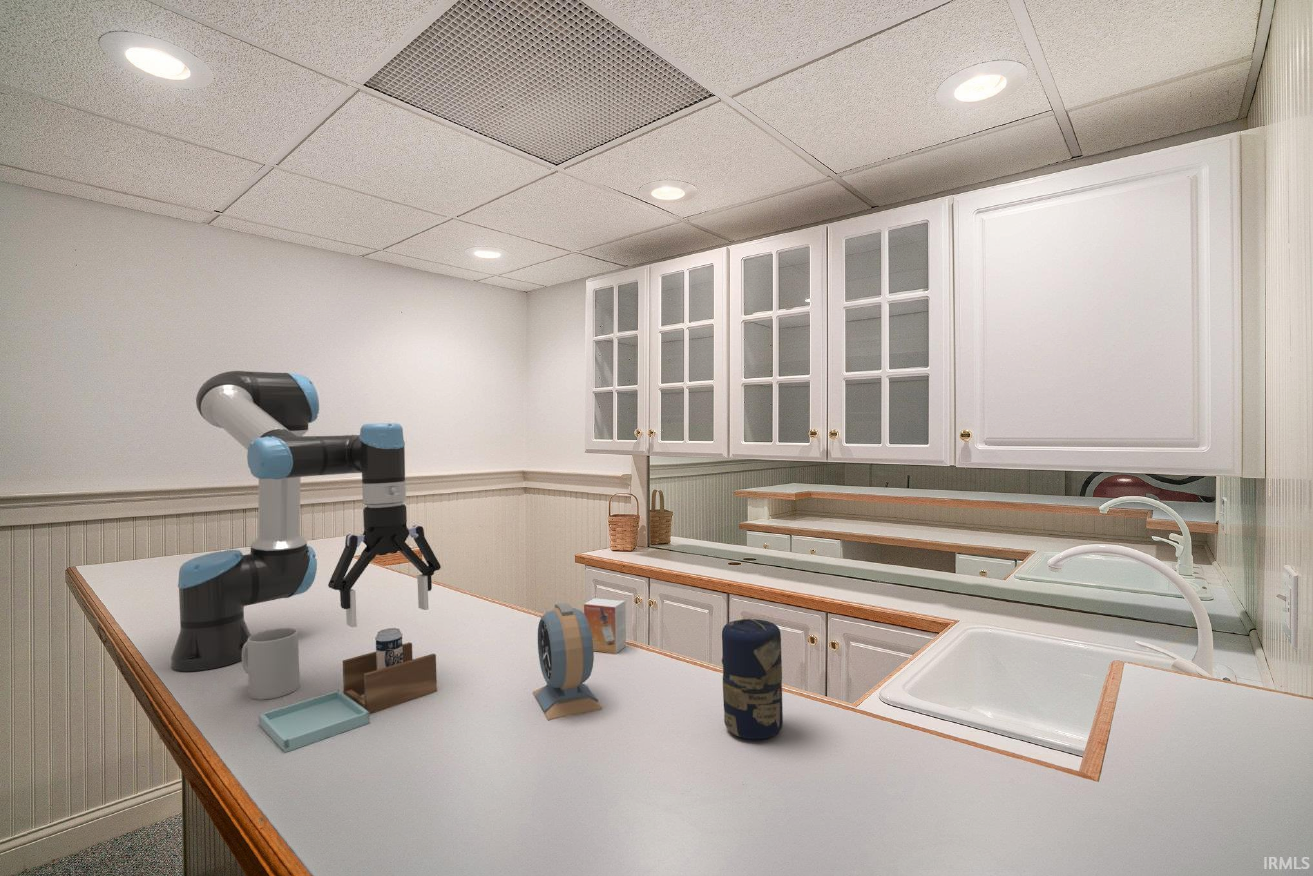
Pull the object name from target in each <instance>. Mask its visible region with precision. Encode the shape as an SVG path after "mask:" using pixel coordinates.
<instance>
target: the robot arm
mask: <svg viewBox="0 0 1313 876" xmlns="http://www.w3.org/2000/svg"><path fill="white" fill-rule="evenodd" d="M319 401H320V400H319V396H318V392H317V389H316V387H315V385H314V383H313V382H312V381H311V379H310V378H308V377H307V376H306V375H304V374H298V373H290V372H267V371H266V372H265V371H248V370H247V371H245V370H229V371H225V372H224V371H223V372H221V373H219V374H217V375H214V376H211V377H210V378H208V379H207V380H206V381H205V382H204V383H203V384H202V385H201V386H200V388H199V390H198V391H197V393H196V397H195V404H196V408H197V411H198V412H199V414H200V416H201V417H202V418H203V419H204V420H205V421H206V422H208V423H209V424H210V425H212V426H214V427H216V428H220V429H223V430H224V431H226V433H227V434H229V435H230V436H231V437H232V438H233V439H234V440H236V441H237V442H238V443H239V444H240V445H241V446H243V448H244V449H246V450H247V455H246V457H247V458H246V459H247V466H248V468H249V469H250V470H249V471H250V474H251V475H252V476H253V477H255V478H256V479H258V499H257V500H258V502H257V503H258V506H257V507H258V509H257V510H258V511H257V512H258V517H257V519H258V521H257V522H258V523H257V524H258V525H257V526H258V530H257V531H258V533H257V538H256V539H255V540H254V541H252V542H251V543H250V553H248V554H244V555H243V553H242V551H241V550H239V549H227V550H223V551H222V550H220V551H214V552H210V553H207V554H203V555H200V556H196V557H194V558H191V559H189V560H187V561H185V562H183V563H182V565H181V566H180V567H179V570H178V582H177V587H178V600H179V621H180V624H179V625H180V630H179V634H178V636H177V640H176V642H175V645H174V648H173V651H172V655H171V659H170V660H171V668H172V670H175V671H178V672H197V671H198V672H199V671H206V670H212V669H218V668H221V667H225V666H230V665H232V664H235V663H238V662H239V663H240V662H242V648H243V645H244V644H245V643H246V642H247V640H248V638H249V637H250V636H252V635H251V634H252V633H251V631H250V629H249V628H248V626H247V623H246V621H245V614H244V613H245V610H244V609H245V607H246V606H250V605H252V606H253V605H256V604H260V603H265V602H270V601H275V600H280V599H289V598H292V597H294V596H298V595H301V594H302V595H303V594H304V593H306V592H308V590H309V589H310V588H311V587H312V585H313V584H314V582H315V579H316V575H317V569H318V564H317V563H318V561H317V558H316V552H315V550H314V549H313V547H312V546H310V545H307V544H308V542H307V541H308V540H306V538H305V537H303V536H301V478H304V477H305V478H306V477H316V476H332V475H333V476H334V475H346V474H361V482H362V483H361V485H362V504H364V505H365V507H364V508H363V511H362V514H363V529H364V531H363V533H362V534H360V535H359V534H358V535H357V534H350V533H349V534H346V536H345V543H344V544H345V545H344V547H343V551H342V553H341V555H340V557H339V559H338V562H337V564H336V566H335V568H334V570H333V573H332V575H331V577H330V580H329V582H328V584H327V585H328V588H330V589H332V590H335V591H339V600H340V607H341V609H343V610H345V613H346V626H348V627H350V628H355V627H357V626H358V623H357V621H358V620H357V619H358V618H357V598H356V595H357V593H356V590H355V589H353V587H354V585H355V583H356V582H357V581H358V579H360V577H361V576H362V575H363V573H364V571H365V570H366V569H367V567H368V565H369V564H370V563H371V561H372V560H374V559H375V558H376V557H377V556H385V555H388V554H397V553H398V552H399V553H400V554H402V555H403V556H404V557H405V559H407V560H408V561H409V562H410V563H411V564H412V565H413V567H415V568H416V569H417V570H418V571H419V572H420V573H421V574H417V575H416V576H417V600H418V609H421V610H424V611H427V610H429V609H430V607H429V592H432V588H433V583H432V582H433V581H432V576H433V575H434V574H435V572H436V571H440V569H441V568H442V565H441V564H440V562H439V560H438V558H437V557H436V555H435V553H434V551H433V549H432V548H431V546H430V544H429V543H428V540H427V538H426V537H425V531H424V530H425V529H424V527H423V526H421V525H413V526H412V527H409V528H408V526H407V525H408V524H407V522H408V517H407V515H408V514H407V505H406V504H405V503H404V502H406V501H407V493H406V491H407V489H406V488H407V487H406V462H405V461H406V460H405V459H406V458H405V457H406V455H405V454H406V453H405V452H406V451H405V448H406V447H405V445H406V443H405V439H404V430H403V427H402V425H401V424H399V423H396V422H392V423H391V422H390V423H389V422H386V423H385V422H384V423H383V422H382V423H381V422H380V423H378V422H377V423H364V424H362V425H361V427H360V431H359V434H351V435H350V434H346V435H345V434H344V435H312V436H311V435H310V436H309V435H308V436H305V434H306V433H307V432H308V431H309V424H311V423H313V422H315V421H316V420H317V419H318V415H319V413H320V403H319ZM403 503H404V504H403ZM409 537H410V538H412V539H413V541H414V542H415V545H416V546H417V548H418V549H419V551H420V553H421V555H422V556H423V558H424V560H425V562H426V563H425V562H424V560H422V559H421V558H420V556H419V555H418V554H417V553H416V552H415V551H413V549H412V547H411V546H409V544H407V543H406V541H407V539H408V538H409ZM361 543H363V544H365V545H366V546H365V547H364V549H362V550H363V551H362V552H361V553H360V556H359V557H358V559H357V560H356V561H355V563H354V564H353V565H352V567H351V568H350V566H351V563H352V561H353V558H354V556H355V554H356V552H357V549H358V547H360V546H361ZM349 568H350V570H349ZM347 572H348V573H347Z"/></svg>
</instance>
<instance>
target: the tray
mask: <svg viewBox="0 0 1313 876" xmlns="http://www.w3.org/2000/svg"><path fill="white" fill-rule="evenodd" d="M370 717H371V716H370V712H368V711H367V710H366V709H364V708H363V707H361V706H360V705H359V704H357V703H356V702H354V701H353V700H352V699H350V698H349V697H347V696H346V695H345V694H344V692H342V691H340V690H335V691H332V692H330V693H326V694H322V695H319V696H316V697H312V698H309V699H305V700H301V701H300V702H296V703H293V704H289V705H286V706H282V707H279V708H276V709H273V710H269V711H266V712H262V713H260V714H258V725H259V726H260V728H262V730H263V731H264V732H265V733H266V735H268V736H269V737H270V738H271V740H273V741H274V742H275V744H276V745H277V746H278V747H279V748H280V749H281V750H282V751H283V752H284V753H288V752H291V751H293V750H296V749H298V748H302V747H304V746H308V745H310V744H314V743H317V742H318V741H322V740H325V739H327V738H330V737H334V736H336V735H340V734H342V733H344V732H348V731H350V730H354V729H356V728H359V727H362V726H364V725H368V724H370V723H371V720H370V719H371V718H370Z"/></svg>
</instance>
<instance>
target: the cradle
mask: <svg viewBox="0 0 1313 876" xmlns="http://www.w3.org/2000/svg"><path fill="white" fill-rule="evenodd" d="M402 649H403V663H399V664H396V665H392V666H389V667H386V668H382V669H379V670H377V662H376V651H372V652H369V653H366V654H362V655H358V656H354V657H350V658H348V659H343V660H342V683H343V685H342V688H343V694H345V695H346V696H347V697H349V698H350V699H352V700H353V701H354V702H356V703H357V704H359V705H360V706H361V707H363V708H364V709H366V710H367V711H368V712H370V714H375V713H376V712H380V711H382V710H386V709H388V708H392V707H394V706H397V705H400V704H403V703H406V702H409V701H411V700H412V701H413V700H414V699H417V698H420V697H423V696H427V695H430V694H432V693H436V692H437V691H438V684H437V683H438V682H437V681H438V680H437V654H436V653H431V654H428V655H424V656H421V657H417V658H413V643H412V642H405V643H402ZM363 694H364V697H363V696H361V695H363Z"/></svg>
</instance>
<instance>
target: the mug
mask: <svg viewBox="0 0 1313 876" xmlns="http://www.w3.org/2000/svg"><path fill="white" fill-rule="evenodd" d="M299 652H300V651H299V632H298V630H297V629H296V628H292V627H291V628H290V627H284V628H283V627H281V628H273V629H267V630H264V631H260V632H257V633H255V634H252V635H251V636H250V637H249V638H248V640H247V642H246V643H245V644H244V645H243V648H242V660H241V664H242V668H243V670H244V672H245V673H246V674H248V678H247V679H248V697H249V698H250V699H253V700H259V701H261V700H263V701H264V700H265V701H266V700H271V699H277V698H280V697H283V696H284V697H285V696H287V695H289V694H292V693H294V692H295V691H297V690H298V689H299V688H300V686H301V679H300V657H299V654H300V653H299Z"/></svg>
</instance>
